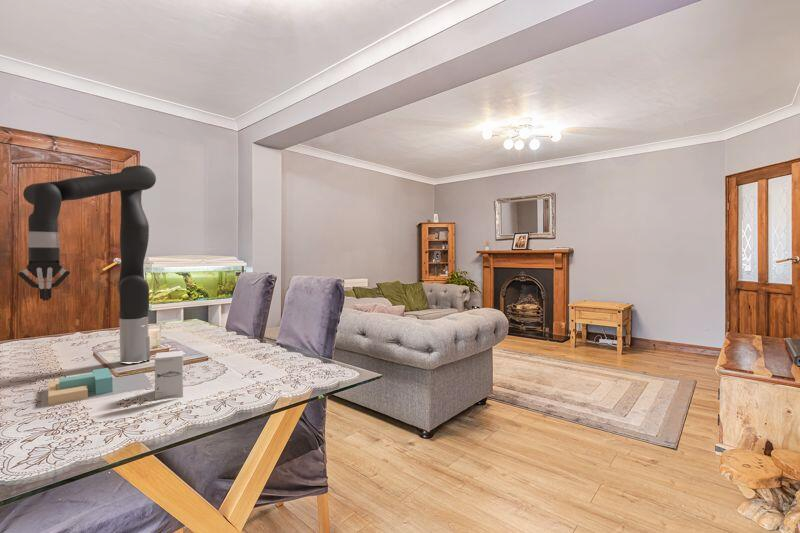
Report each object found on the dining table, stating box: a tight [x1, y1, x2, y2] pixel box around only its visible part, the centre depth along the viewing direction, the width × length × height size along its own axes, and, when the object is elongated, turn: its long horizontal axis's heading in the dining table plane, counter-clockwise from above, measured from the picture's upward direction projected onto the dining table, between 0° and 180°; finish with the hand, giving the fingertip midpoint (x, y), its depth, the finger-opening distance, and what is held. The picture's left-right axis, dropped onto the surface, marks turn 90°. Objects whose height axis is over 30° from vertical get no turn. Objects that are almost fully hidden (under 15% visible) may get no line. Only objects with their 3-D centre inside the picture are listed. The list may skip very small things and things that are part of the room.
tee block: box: [58, 367, 113, 395], centre depth 120 cm, size 12×12×4 cm
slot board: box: [40, 372, 154, 409], centre depth 122 cm, size 26×18×4 cm
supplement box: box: [154, 350, 184, 402], centre depth 120 cm, size 7×7×13 cm
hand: (45, 300), depth 128 cm, fingers closed
